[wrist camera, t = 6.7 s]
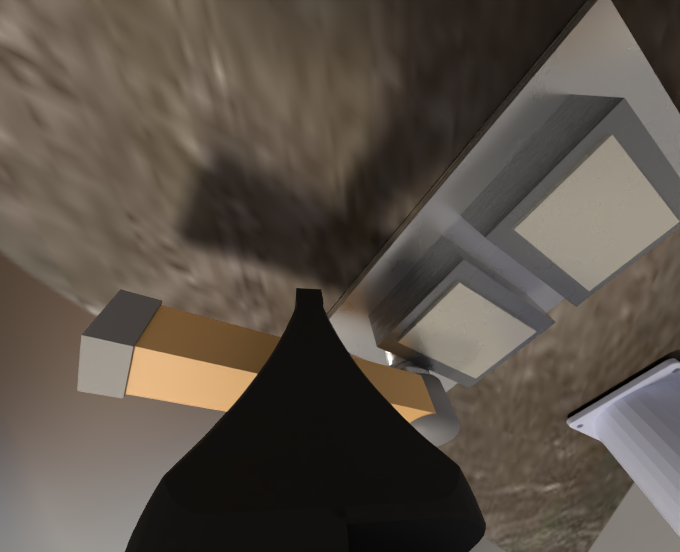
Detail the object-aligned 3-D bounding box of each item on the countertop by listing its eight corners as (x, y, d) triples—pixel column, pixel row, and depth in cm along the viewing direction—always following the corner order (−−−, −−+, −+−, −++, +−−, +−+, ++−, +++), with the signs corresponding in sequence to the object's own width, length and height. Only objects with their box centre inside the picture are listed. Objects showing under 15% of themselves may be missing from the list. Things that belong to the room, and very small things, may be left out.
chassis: (704, 174, 13) (798, 197, 10) (442, 385, 19) (462, 430, 16) (591, -5, 9) (696, -35, 7) (313, 330, 15) (315, 378, 13)
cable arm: (451, 380, 14) (472, 422, 12) (421, 410, 15) (436, 452, 13) (120, 289, 9) (81, 335, 8) (112, 341, 11) (77, 390, 9)
